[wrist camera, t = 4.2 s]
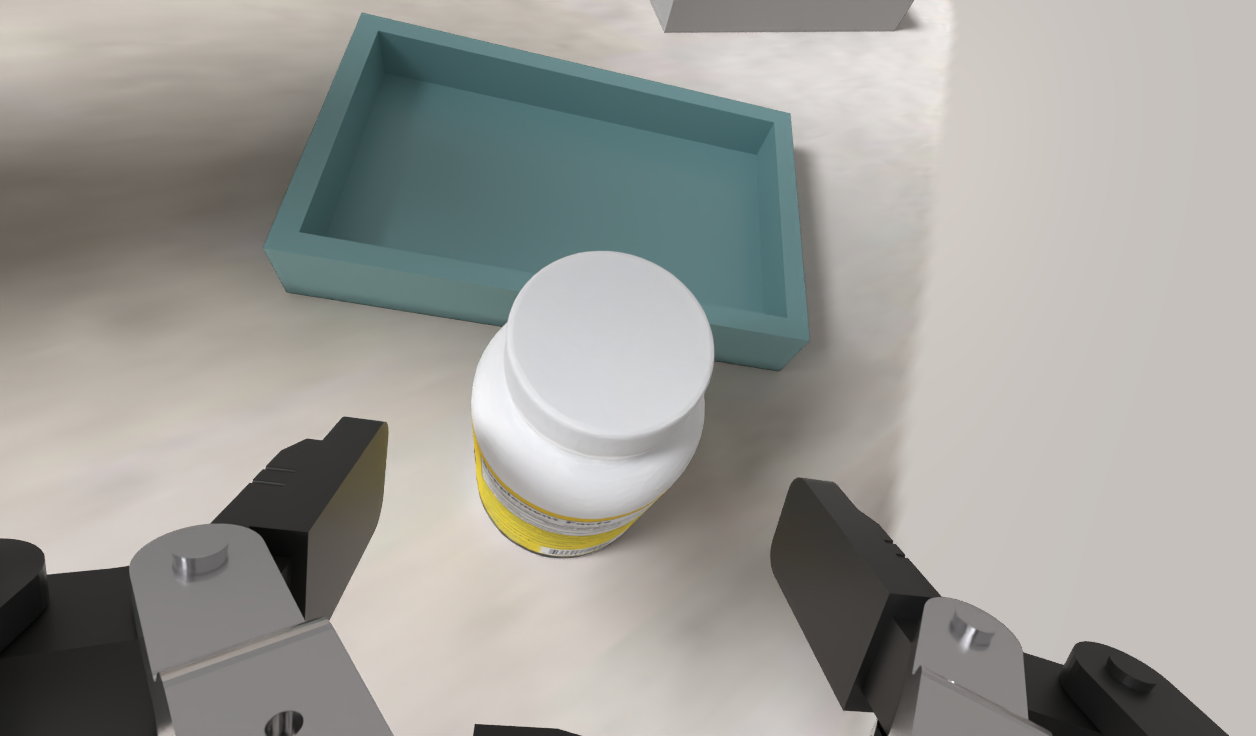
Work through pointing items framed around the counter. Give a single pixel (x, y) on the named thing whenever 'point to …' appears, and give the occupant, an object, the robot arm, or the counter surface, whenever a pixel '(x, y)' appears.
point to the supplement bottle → (589, 401)
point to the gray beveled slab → (779, 15)
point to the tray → (538, 187)
